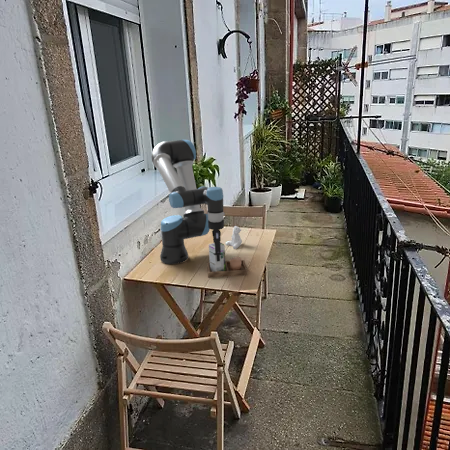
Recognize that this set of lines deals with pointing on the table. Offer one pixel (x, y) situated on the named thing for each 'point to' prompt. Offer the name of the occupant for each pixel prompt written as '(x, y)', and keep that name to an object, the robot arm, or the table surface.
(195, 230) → the robot arm
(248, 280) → the table surface
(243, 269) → the caddy
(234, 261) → the tan rounded block
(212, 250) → the syrup box
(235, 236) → the sitting furry creature
